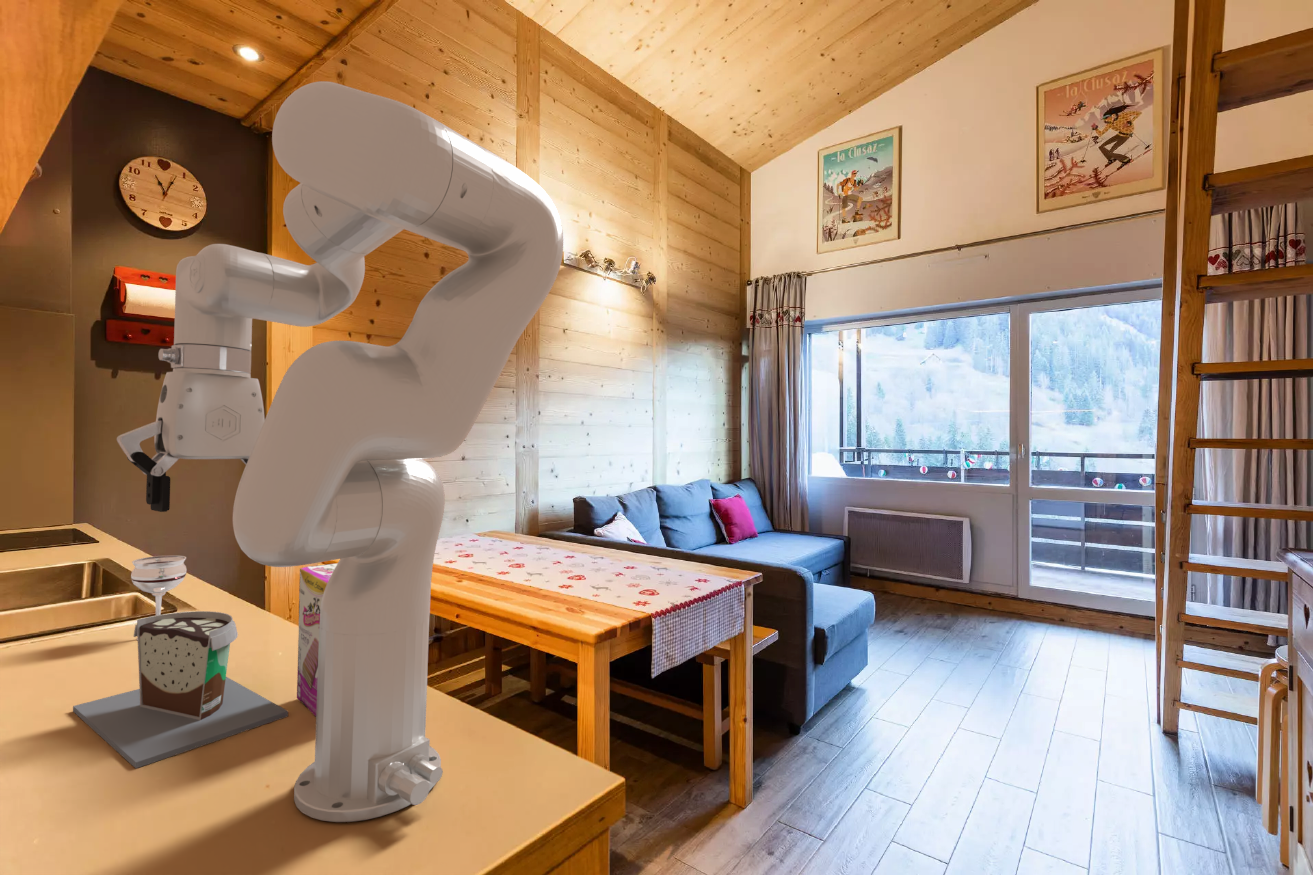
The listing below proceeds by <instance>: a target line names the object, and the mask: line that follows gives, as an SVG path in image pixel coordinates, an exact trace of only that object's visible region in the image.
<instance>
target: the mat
mask: <svg viewBox="0 0 1313 875" xmlns="http://www.w3.org/2000/svg"><path fill="white" fill-rule="evenodd" d="M72 712H73V713H74V714H76V716H77V717H79V718H80V719H81V720H82V721H83V722H84V723H85V724H86V725H88V727H89V728H91V729H92V730H93V731H94V733H96V734H97V735H98V736H99V737H101V739H103V740H104V741H105V742H106V743H107V744H108V745H109V746H111V747H112V748H113V749H114V750H115V751H116V752H117V753H118V754H119V755H121V757H123V758H124V759H125V760H126V761H127V762H128V763H129V764H130V765H131V766H132V767H133V768H135V769H138V768H141V767H144V766H147V765H151V764H153V763H155V762H159V761H162V760H165V759H168V758H171V757H173V756H176V755H179V754H182V753H185V752H187V751H191V750H194V749H197V748H200V747H202V746H205V745H208V744H211V743H214V742H217V741H219V740H223V739H226V738H229V737H231V736H235V735H238V734H240V733H243V732H246V731H249V730H252V729H255V728H257V727H260V726H263V725H267V724H270V723H273V722H276V721H278V720H281V719H284V718H287V717H289V710H287V709H285V708H283V707H282V706H280V705H278V704H276V703H275V702H272V701H271V700H269V699H267V698H266V697H264V696H261V695H260V694H258V693H257V692H255V691H253V690H252V689H249V688H248V687H245V686H244V685H242V684H240V683H238V682H237V681H235V680H233V679H231V678H230V677H228V676H226V680H225V688H224V696H223V703H222V705H221V707H220V708H219V710H217V711H216V712H215V713H213V714H212V715H210V716H208V717H206V718H204V719H202V720H197V719H193V718H188V717H184V716H179V715H175V714H170V713H166V712H161V711H157V710H152V709H148V708H143V707H140V688H138V689H133V690H130V691H126V692H122V693H119V694H114V695H110V696H107V697H102V698H99V699H95V700H91V701H88V702H84V703H83V702H82V703H80V704H76V705H73V706H72Z"/></svg>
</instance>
